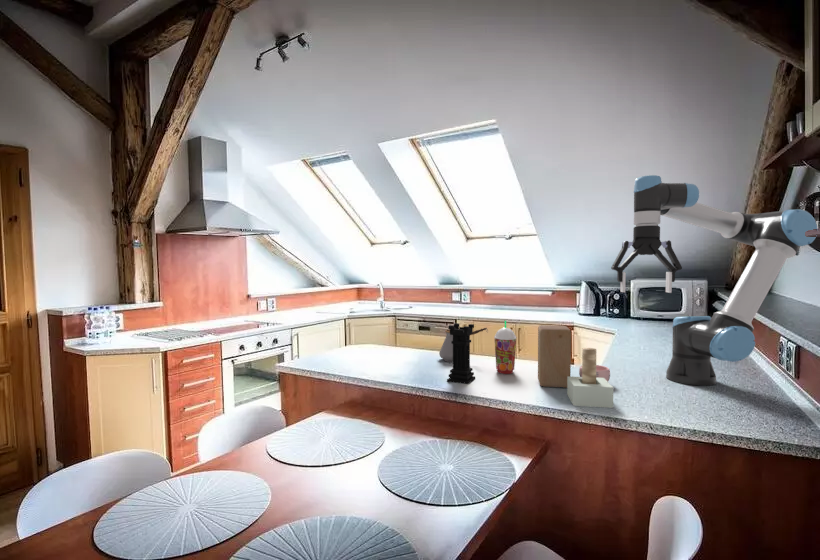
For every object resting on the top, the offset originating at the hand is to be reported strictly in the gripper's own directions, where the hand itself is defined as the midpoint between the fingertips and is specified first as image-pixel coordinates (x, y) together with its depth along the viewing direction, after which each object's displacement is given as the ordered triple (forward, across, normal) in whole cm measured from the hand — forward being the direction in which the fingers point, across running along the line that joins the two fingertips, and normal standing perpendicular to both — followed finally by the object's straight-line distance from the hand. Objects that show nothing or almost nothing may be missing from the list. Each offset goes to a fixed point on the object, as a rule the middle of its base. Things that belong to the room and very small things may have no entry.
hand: (645, 292), depth 143 cm
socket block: (+33, +19, +11) cm, 39 cm away
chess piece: (+33, +59, -7) cm, 68 cm away
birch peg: (+32, +19, +11) cm, 39 cm away
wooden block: (+33, +27, -7) cm, 43 cm away
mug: (+33, +13, -10) cm, 37 cm away
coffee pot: (+33, +60, -38) cm, 78 cm away
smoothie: (+33, +43, -21) cm, 58 cm away
